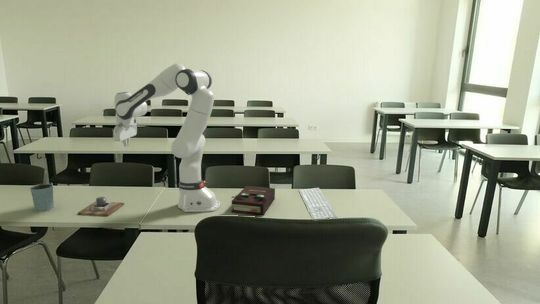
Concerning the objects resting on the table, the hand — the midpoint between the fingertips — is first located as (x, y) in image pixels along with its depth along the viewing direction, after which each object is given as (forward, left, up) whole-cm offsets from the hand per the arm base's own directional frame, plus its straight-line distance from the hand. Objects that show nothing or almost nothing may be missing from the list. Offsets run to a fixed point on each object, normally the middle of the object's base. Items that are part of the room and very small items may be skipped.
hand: (126, 146), depth 212 cm
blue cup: (+34, +26, -29) cm, 52 cm away
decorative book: (-73, +6, -29) cm, 79 cm away
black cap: (+4, +23, -28) cm, 36 cm away
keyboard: (-107, -2, -29) cm, 111 cm away
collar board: (+4, +23, -29) cm, 37 cm away
